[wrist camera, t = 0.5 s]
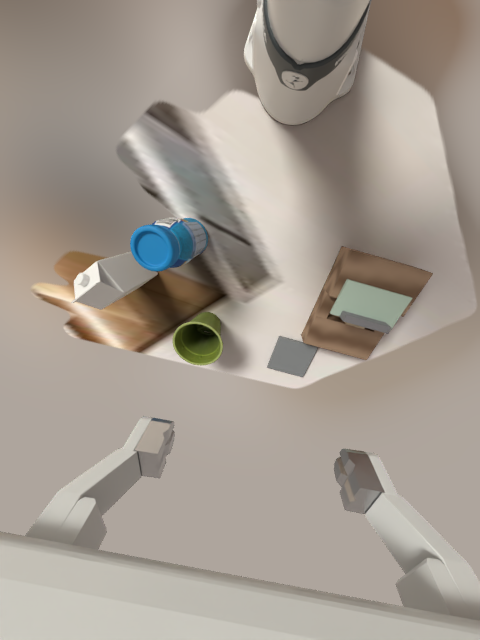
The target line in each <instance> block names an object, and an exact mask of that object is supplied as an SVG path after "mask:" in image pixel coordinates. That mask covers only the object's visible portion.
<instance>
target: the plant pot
mask: <svg viewBox="0 0 480 640" xmlns="http://www.w3.org/2000/svg"><path fill="white" fill-rule="evenodd" d="M198 324H200V325H198ZM204 331H207V332H210V333H206V332H204ZM220 332H221V323H220V320H219V318H218V317H217V316H216V315H215V314H213V313H210V312H203V313H201V314H199V315H198V316H197V317H195V318H194V319H193V320H192V321H190V322H188V323H185V324H183V325H181V326H180V327H178V328H177V329H176V331H175V333H174V335H173V346H174V349H175V351H176V352H177V354H178V355H179V356H180V357H181V358H182V359H183V360H185V361H187V362H189V363H191V364H194V365H208V364H211V363H213V362H215V361H216V360H217V359H218V358H219V357H220V355H221V353H222V350H223V343H222V339H221V337H220Z"/></svg>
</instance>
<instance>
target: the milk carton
mask: <svg viewBox="0 0 480 640" xmlns="http://www.w3.org/2000/svg"><path fill="white" fill-rule="evenodd" d="M156 275H158V273H157V272H156V271H150V270H147V269H145V268H144V267H142V266H141V265H140V264H139V263H138V262H137V261H136V260H135V258H134V256H133V254H132V252H128V253H125V254H121V255H117V256H114V257H110V258H106V259H103V260H99V261H97V262H95V263H94V264H93V265H92V266H90V267H89V268H88V269H87V270H86V271H84V272H83V273H80V274H78V276H77V277H76V279H75V280H74V289H75V300H73V301H72V302H71V303H74V302H76V301H77V302H80V303H83V304H86V305H89V306H92V307H95V308H98V309H103V308H105V307H107V306H108V305H110V304H112V303H114V302H115V301H117V300H119V299H120V298H122V297H124V296H126V295H127V294H129V293H131V292H132V291H134V290H136V289H138V288H139V287H141V286H142V285H144V284H145V283H147V282H148V281H149V280H151V279H152V278H154V277H155V276H156Z"/></svg>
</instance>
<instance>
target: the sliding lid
mask: <svg viewBox="0 0 480 640" xmlns="http://www.w3.org/2000/svg"><path fill="white" fill-rule="evenodd" d="M411 300H412V298H411V297H409V296H405V295H402V294H398V293H395V292H391V291H388V290H384V289H380V288H377V287H373V286H370V285H366V284H363V283H359V282H356V281H352V280H349V279H346V281H345V283H344V285H343V287H342V289H341V291H340V293H339V295H338V297H337V299H336V301H335V303H334V305H333V307H332V309H331V311H330V314H333V315H336V316H339V317H340V318H341V319H342V320H343V322H347V323H351V324H354V325H358V326H361V327H365V328H369V329H372V330H376V331H379V332H383V333H387V334H388V333H389V332H390V331H391V329H392V328H393V326H394V325H395V323H396V322H397V320H398V319H399V317H400V316H401V314H402V313H403V312H404V310H405V309H406V307H407V306H408V304H409V303H410V301H411Z"/></svg>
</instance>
